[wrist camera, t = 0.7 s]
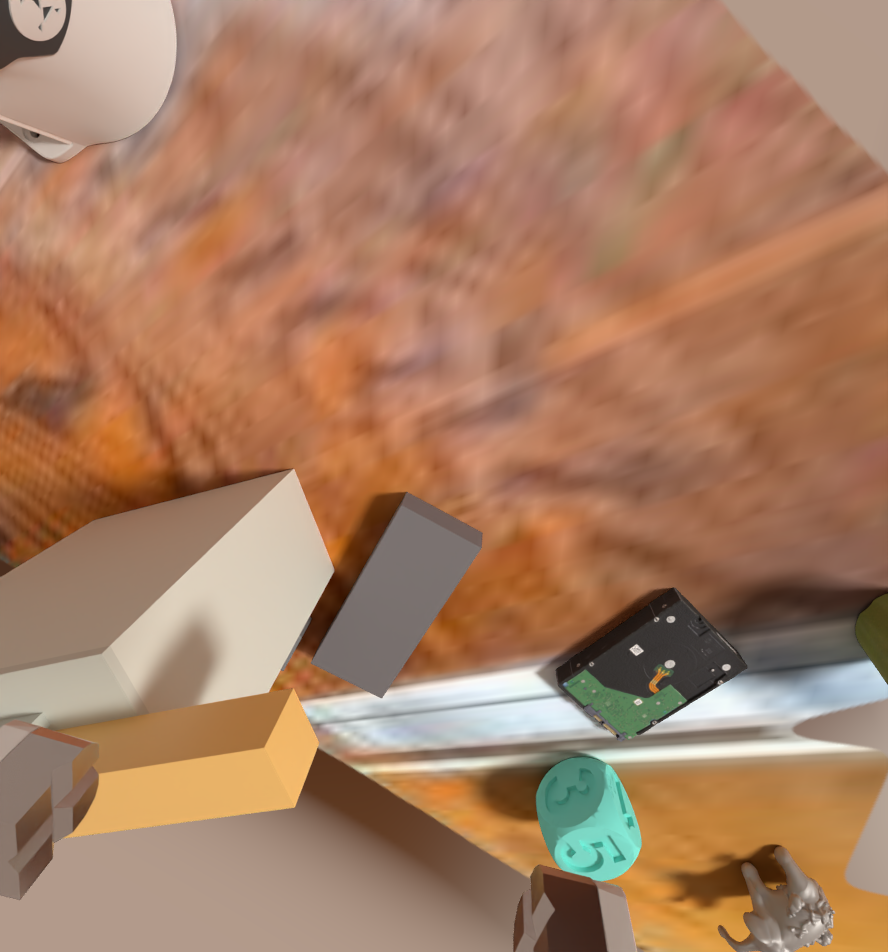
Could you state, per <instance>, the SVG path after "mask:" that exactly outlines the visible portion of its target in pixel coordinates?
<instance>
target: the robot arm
mask: <svg viewBox="0 0 888 952" xmlns="http://www.w3.org/2000/svg"><path fill="white" fill-rule="evenodd" d="M176 49H177V41H176V27H175V20H174V14H173V9H172V5H171V1H170V0H0V123H1V124H3V125H4V126H5V127H6V128H8V129H9V130H10V131H11V132H12V133H14V134H15V135H16V136H17V137H19V138H20V139H21V140H22V141H23V142H25V143H26V144H27V145H28V146H30V147H31V148H32V149H33V150H34V151H36V152H37V153H38V154H39V155H41V156H42V157H44V158H46V159H49V160H51V161H54V162H57V163H62V162H65V161H67V160H69V159H71V158H72V157H74V156H75V155H76V154H78V153H79V152H80V151H81V150H83V149H84V148H85V147H87V146H90V145H93V144H99V143H108V142H114V141H118V140H121V139H124V138H127V137H129V136H131V135H133V134H135V133H136V132H138V131H139V130H141V129H142V128H143V127H144V126H145V125H147V124H148V123H149V122H150V121H151V120H152V118H153V117H154V116H155V115H156V113H157V112H158V110H159V109H160V107H161V106H162V104H163V102H164V100H165V98H166V96H167V94H168V91H169V88H170V85H171V82H172V78H173V74H174V69H175V62H176ZM37 133H39V134H40V136H39V137H38V136H37ZM98 758H99V744H98V743H94V742H91V741H88V740H84V739H81V738H77V737H74V736H71V735H67V734H64V733H60V732H57V731H54V730H50V729H47V728H44V727H41V726H37V725H34V724H30V723H27V722H23V721H19V720H16V719H15V720H13V721H11V722H9V723H7V724H5V725H3V726H1V727H0V895H1V896H5V897H9V898H13V899H17V900H20V899H21V898H22V897H23V896H24V895H25V893H26V892H27V891H28V889H29V888H30V887H31V886H32V884H33V883H34V882H35V881H36V879H37V878H38V877H39V875H40V874H41V873H42V871H43V870H44V869H45V868H46V866H47V865H48V864H49V863H50V861H51V860H52V858H53V848H54V843H55V842H57V841H59V840H61V839H62V838H64V837H66V836H68V835H70V834H71V833H73V832H74V830H75V829H76V828H77V826H78V825H79V824H80V822H81V821H82V820H83V818H84V817H85V816H86V814H87V812H88V810H89V808H90V806H91V804H92V802H93V801H94V799H95V796H96V792H97V789H98V785H99V774H98V773H97V771H96V770H95V769H94V767H93V766H92V765H93V764H94V763H95V762H96V760H97V759H98ZM530 880H531V889H529V890H527V891H525V892H523V893H522V896H521V898H520V901H519V903H518V906H517V911H516V916H515V922H514V934H513V952H637V948H636V944H635V939H634V934H633V929H632V924H631V919H630V914H629V910H628V905H627V900H626V895H625V893H624V892H623V890H622V888H621V887H619V886H617V885H613V884H609V883H605V882H601V881H597V880H593V879H591V878H590V877H586V876H582V875H578V874H574V873H570V872H566V871H563V870H559V869H555V868H551V867H547V866H543V865H537V866H536V867H535V868H534V870H533V872H532V874H531V876H530Z"/></svg>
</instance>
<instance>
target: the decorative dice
mask: <svg viewBox="0 0 888 952" xmlns="http://www.w3.org/2000/svg"><path fill="white" fill-rule="evenodd" d="M536 808H537V815H538V820H539V824H540V827H541V831H542V834H543V837H544V840H545V842H546V845H547V847H548V849H549V852H550V854H551V856H552V857H553V859H554V861H555V862H556V864H557V865H558V866H559V867H560V868H561V869H562V870H563V871H566V872H570V873H574V874H578V875H582V876H586V877H590V878H591V879H593V880H597V881H605V880H610V879H613V878H616V877H618V876H620V875H622V874H623V873H625V872H626V871H627V870H628V869H629V868H630V867H631V865H632V864H633V863H634V861H635V860H636V858H637V856H638V854H639V851H640V848H641V845H642V842H641V835H640V830H639V827H638V823H637V820H636V817H635V814H634V811H633V808H632V806H631V803H630V801H629V798H628V796H627V794H626V791H625V789H624V787H623V785H622V783H621V781H620V779H619V778H618V776H617V774H616V773H615V771H614V770H613V769H612V767H611V766H609V765H608V764H606V763H604V762H602V761H599V760H596V759H593V758H588V757H576V758H570V759H567V760H564V761H562V762H560V763H558V764H557V765H555V766H554V767H553V768H551V769H550V770H549V771H548V773H547V774H546V775H545V776H544V778H543V779H542V781H541V783H540V785H539V788H538V790H537V793H536Z"/></svg>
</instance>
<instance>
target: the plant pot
mask: <svg viewBox="0 0 888 952" xmlns="http://www.w3.org/2000/svg"><path fill="white" fill-rule="evenodd" d="M855 633H856V637H857V640H858V642H859V643H860V645H861V646H862V648H863V649H864V651H865V652H866V654H867V655H868V657H869V658H870V660H871V661H872V663H873V664H874V665H875V667H876V668H877V670H878V671H879V673H880V674H881V676H882V677H883V679H884V680H885V682H886V683H887V684H888V593H887V594H885V595H882V596H880V597H878V598H876V599H875V600H873V602H872V603H871V605H870V606H869V607H868V608H867V609H866V610H865V611H863V612H862V613H860V615H859V617H858V619H857V622H856V626H855Z"/></svg>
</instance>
